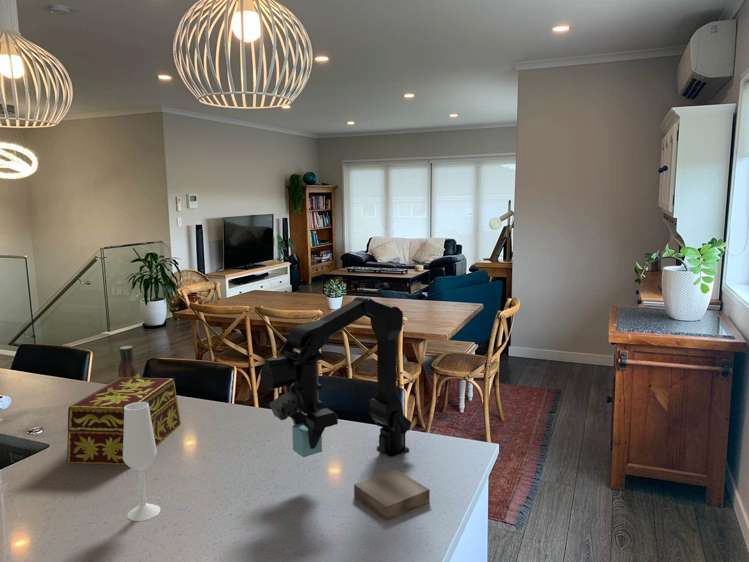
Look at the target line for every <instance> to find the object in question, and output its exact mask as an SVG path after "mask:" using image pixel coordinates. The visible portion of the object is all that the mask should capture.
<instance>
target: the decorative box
mask: <svg viewBox="0 0 749 562" xmlns="http://www.w3.org/2000/svg"><path fill="white" fill-rule="evenodd" d="M177 397H178V396H177V391H176V383H175V379H174V378H170V377H169V378H168V377H167V378H162V377H160V378H159V377H139V378H119V377H118V378H116V379H115V380H113V381H112V382H110V383H108V384H107V385H105V386H103V387H100V388H99V389H98V390H96V391H94V392H93V393H90V394H89V395H87V396H85V397H84V398H82V399H80V400H78V401H77V402H74V403H73V404H71V405H70V406H69V407H68V408H67V409H68V411H67V443H66V444H67V447H66V448H67V449H66V450H67V451H66V453H67V455H66V462H67V464H74V465H76V464H79V465H80V464H81V465H103V466H104V465H105V466H106V465H109V466H127V465H126V463H125V462H124V461H123V436H124V407H125V406H126V405H128V404H131V403H136V402H146V403H148V404H149V409H150V415H151V421H152V427H153V433H154V438H155V444H156V447H158V446H159V445H160V444H161V443H162V442H163V441H164V440H165V439H166V438H168V437H169V436H170V435H171V434H172V433H173V432H174V431H175V430H176V429H177V428H178V427H180V426H181V425H182V424H181V415H180V409H179V408H180V407H179V402H178V398H177Z"/></svg>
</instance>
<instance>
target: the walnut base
mask: <svg viewBox="0 0 749 562" xmlns="http://www.w3.org/2000/svg"><path fill="white" fill-rule="evenodd" d="M430 492H431V491H430V489H429V488H428V487H426V486H424V485H423V484H421V483H420V482H418V481H416V480H415V479H413V478H411V477H410V476H408V475H406V474H405V473H404V472H401V471H399V470H398V469H396V468H395V469H393V470H389V471H387V472H385V473H382V474H379V475H376V476H372V477H371V478H370V477H369V478H368V479H365V480H363V481H359V482H357V483H354V484H353V493H354V494H353V496H354V498H355V499H357V500H358V501H359V502H361V503H362V504H363V505H365V506H366V507H367V508H369V509H370V510H372V511H373V512H374V513H375V514H377V515H379V516H380V517H381V518H382V519H384V520H385V521H388V520H390V519H393V518H396V517H398V516H400V515H402V514H405V513H408V512H409V511H412V510H415V509H417V508H419V507H422V506H425V505H426V504H428V503H430Z"/></svg>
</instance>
